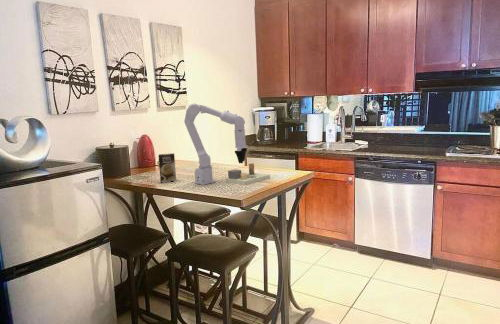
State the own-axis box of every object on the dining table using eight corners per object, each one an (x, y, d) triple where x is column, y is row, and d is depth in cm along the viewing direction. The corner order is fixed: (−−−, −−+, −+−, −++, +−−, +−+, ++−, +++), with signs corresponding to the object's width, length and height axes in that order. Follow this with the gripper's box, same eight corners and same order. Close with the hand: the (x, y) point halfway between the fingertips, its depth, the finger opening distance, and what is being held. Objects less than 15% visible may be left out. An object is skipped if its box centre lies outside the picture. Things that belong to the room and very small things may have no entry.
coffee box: (160, 183, 216) (157, 155, 213) (160, 181, 222) (158, 154, 220) (176, 181, 218) (174, 154, 215) (176, 179, 224) (174, 152, 221)
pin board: (244, 185, 198) (243, 175, 198) (225, 181, 209) (225, 173, 208) (270, 178, 212) (269, 169, 211) (251, 175, 223) (250, 167, 222)
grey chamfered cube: (234, 179, 205) (234, 171, 204) (228, 178, 209) (227, 170, 208) (241, 177, 208) (241, 170, 208) (235, 176, 212) (234, 169, 211)
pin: (251, 174, 215) (250, 164, 214) (248, 174, 217) (247, 163, 216) (255, 174, 216) (254, 163, 216) (252, 173, 219) (251, 163, 218)
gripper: (245, 138, 201) (247, 163, 203) (248, 136, 215) (250, 159, 217) (232, 139, 202) (234, 164, 204) (236, 137, 216) (238, 160, 218)
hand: (241, 162), depth 211 cm, fingers open, 7 cm apart
